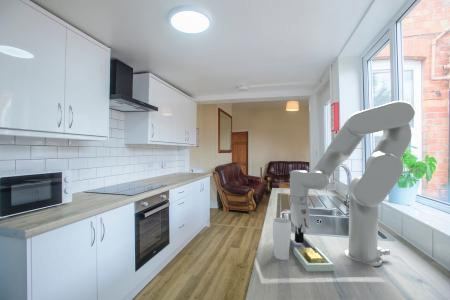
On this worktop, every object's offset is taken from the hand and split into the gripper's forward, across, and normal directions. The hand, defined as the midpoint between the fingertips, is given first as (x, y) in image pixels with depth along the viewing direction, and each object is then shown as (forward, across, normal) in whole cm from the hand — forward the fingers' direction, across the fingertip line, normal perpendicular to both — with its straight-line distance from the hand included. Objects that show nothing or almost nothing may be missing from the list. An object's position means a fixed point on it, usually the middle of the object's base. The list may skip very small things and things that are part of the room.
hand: (299, 241), depth 97 cm
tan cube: (+2, -16, +1) cm, 16 cm away
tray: (+3, -13, 0) cm, 14 cm away
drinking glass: (+3, -10, +10) cm, 15 cm away
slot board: (+2, -1, 0) cm, 3 cm away
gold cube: (+2, -12, +1) cm, 12 cm away
